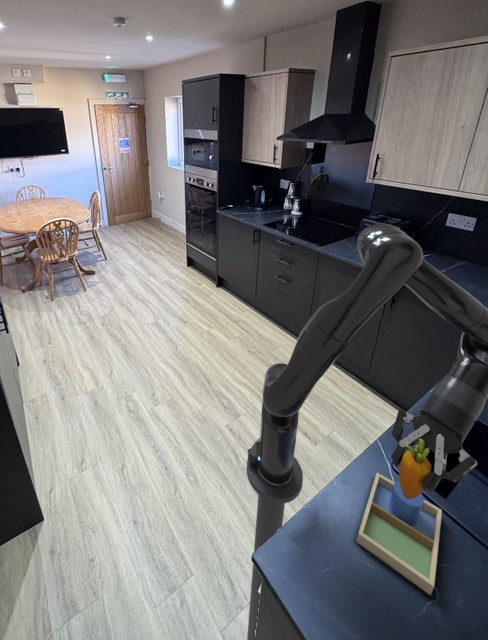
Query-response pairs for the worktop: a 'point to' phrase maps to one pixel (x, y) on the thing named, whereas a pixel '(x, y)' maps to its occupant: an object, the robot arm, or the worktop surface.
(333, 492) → the worktop surface
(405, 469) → the carrot
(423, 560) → the sorting tray
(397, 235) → the robot arm
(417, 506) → the blue cylinder
